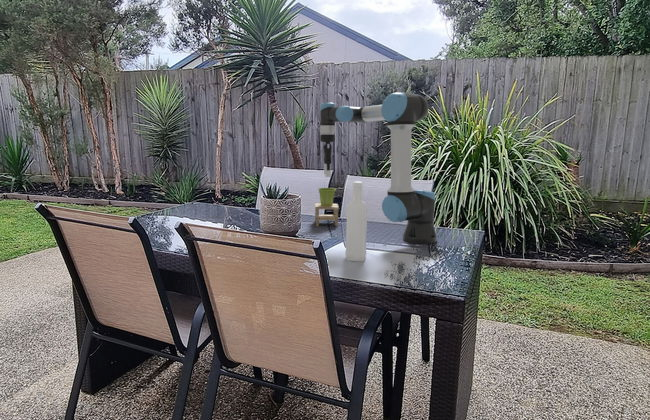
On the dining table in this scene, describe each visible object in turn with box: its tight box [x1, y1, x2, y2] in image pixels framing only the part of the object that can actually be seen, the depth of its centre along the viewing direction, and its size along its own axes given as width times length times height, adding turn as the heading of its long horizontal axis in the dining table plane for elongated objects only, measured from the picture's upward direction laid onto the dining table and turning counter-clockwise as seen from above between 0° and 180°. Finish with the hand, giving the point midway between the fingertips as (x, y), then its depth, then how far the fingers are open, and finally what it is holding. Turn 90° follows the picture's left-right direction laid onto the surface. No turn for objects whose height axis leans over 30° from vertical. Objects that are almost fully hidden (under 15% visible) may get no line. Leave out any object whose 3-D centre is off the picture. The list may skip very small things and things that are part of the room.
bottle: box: [345, 181, 368, 262], centre depth 165 cm, size 8×8×30 cm
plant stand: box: [314, 202, 340, 227], centre depth 229 cm, size 12×12×10 cm
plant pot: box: [318, 187, 337, 206], centre depth 227 cm, size 9×9×9 cm
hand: (327, 175), depth 225 cm, fingers open, 13 cm apart
